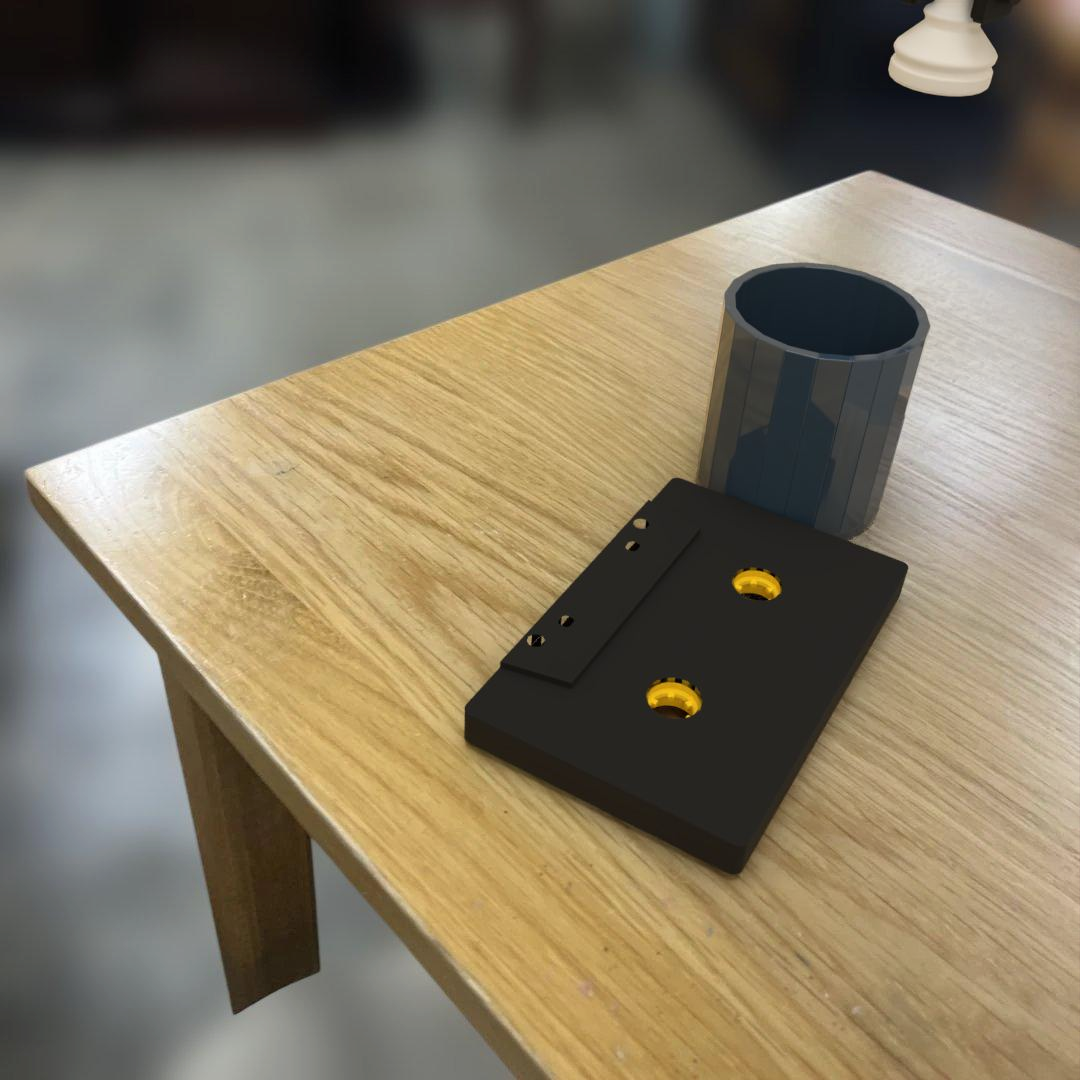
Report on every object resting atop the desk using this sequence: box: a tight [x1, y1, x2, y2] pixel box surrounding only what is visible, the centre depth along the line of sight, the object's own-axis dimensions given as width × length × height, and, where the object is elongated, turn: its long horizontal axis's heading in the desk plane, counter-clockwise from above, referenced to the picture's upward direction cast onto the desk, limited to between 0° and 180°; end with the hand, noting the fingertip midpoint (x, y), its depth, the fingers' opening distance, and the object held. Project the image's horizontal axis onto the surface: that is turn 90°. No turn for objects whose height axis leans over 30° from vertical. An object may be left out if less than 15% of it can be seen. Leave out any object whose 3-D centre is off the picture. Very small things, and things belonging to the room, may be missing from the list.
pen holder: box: [695, 261, 931, 541], centre depth 58 cm, size 9×9×10 cm
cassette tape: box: [463, 477, 909, 876], centre depth 50 cm, size 18×12×2 cm, turn 149°
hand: (956, 5), depth 59 cm, fingers closed on chess pawn, 3 cm apart
